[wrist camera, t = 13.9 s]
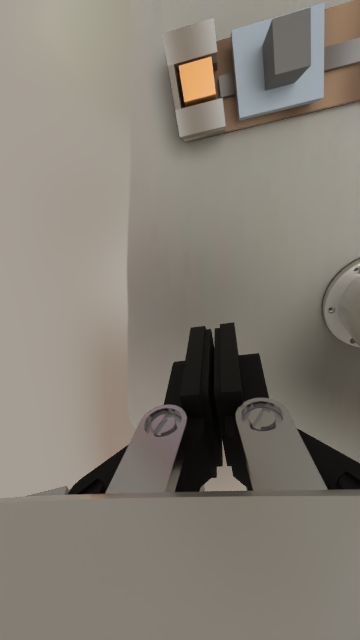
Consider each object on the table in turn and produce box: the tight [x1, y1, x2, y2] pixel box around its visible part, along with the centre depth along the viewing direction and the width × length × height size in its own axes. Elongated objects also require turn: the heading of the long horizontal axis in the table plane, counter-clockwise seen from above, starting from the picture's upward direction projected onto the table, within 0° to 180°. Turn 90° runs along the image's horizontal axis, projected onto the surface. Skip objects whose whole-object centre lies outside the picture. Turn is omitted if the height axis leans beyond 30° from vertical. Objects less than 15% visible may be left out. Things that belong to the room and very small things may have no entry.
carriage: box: [230, 2, 325, 121], centre depth 23 cm, size 7×6×7 cm
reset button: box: [179, 57, 216, 107], centre depth 26 cm, size 3×2×4 cm
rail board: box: [162, 0, 360, 142], centre depth 26 cm, size 23×7×6 cm, turn 101°
